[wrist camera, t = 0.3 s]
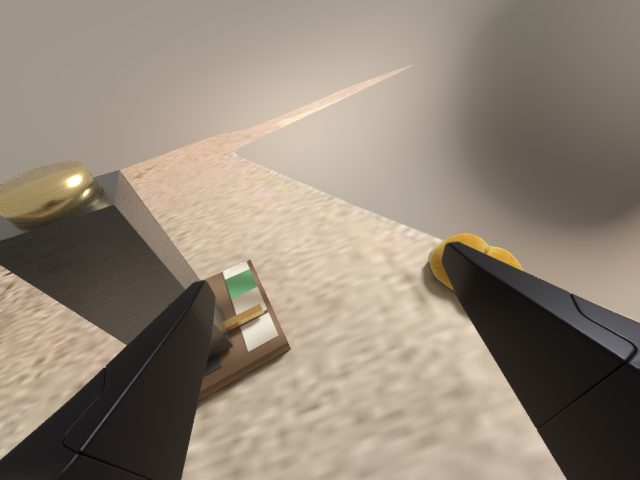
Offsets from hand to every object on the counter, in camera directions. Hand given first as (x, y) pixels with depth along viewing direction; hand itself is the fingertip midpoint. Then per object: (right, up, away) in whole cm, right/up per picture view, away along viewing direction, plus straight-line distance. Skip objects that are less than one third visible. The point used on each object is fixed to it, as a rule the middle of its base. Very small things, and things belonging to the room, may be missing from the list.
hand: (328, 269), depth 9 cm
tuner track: (-10, -8, +17) cm, 21 cm away
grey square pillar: (-10, -8, +14) cm, 19 cm away
